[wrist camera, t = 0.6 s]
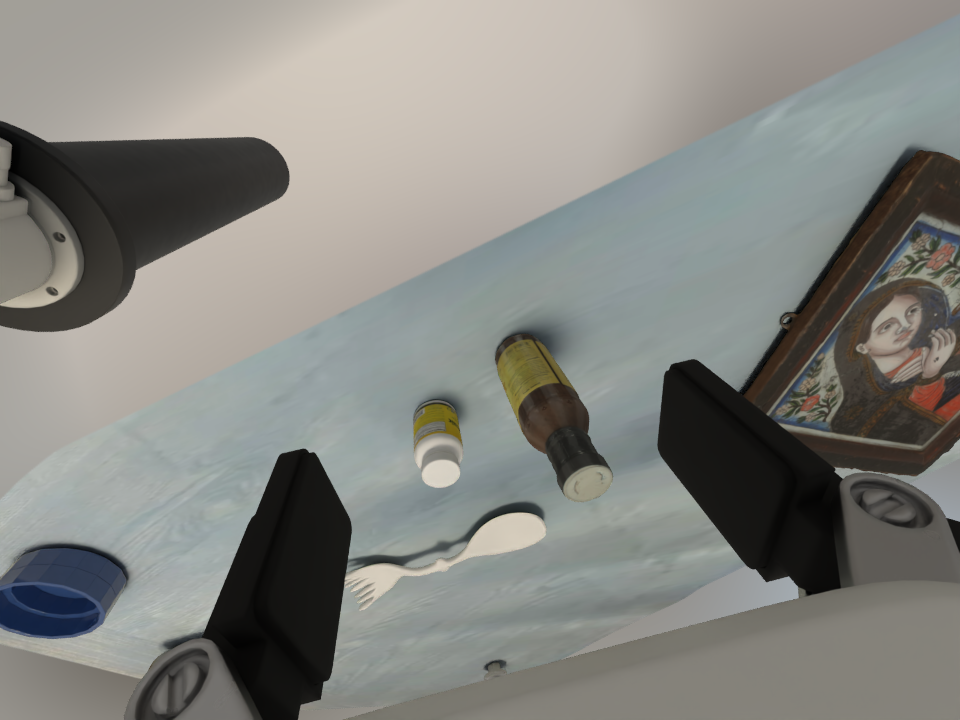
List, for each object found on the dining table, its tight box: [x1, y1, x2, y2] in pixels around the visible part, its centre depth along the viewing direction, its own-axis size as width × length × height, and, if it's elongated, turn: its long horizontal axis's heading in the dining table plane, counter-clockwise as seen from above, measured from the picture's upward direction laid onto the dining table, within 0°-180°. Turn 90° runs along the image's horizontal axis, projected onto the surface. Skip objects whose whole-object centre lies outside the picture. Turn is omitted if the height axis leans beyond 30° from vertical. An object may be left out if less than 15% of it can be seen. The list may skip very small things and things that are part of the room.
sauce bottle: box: [495, 334, 613, 502], centre depth 38 cm, size 6×6×20 cm
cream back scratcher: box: [344, 512, 546, 610], centre depth 60 cm, size 9×32×4 cm, turn 108°
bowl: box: [0, 548, 126, 639], centre depth 51 cm, size 12×12×5 cm
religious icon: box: [743, 150, 960, 476], centre depth 54 cm, size 40×45×3 cm
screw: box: [484, 663, 507, 680], centre depth 78 cm, size 13×5×5 cm
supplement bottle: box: [413, 400, 463, 488], centre depth 45 cm, size 5×5×10 cm
